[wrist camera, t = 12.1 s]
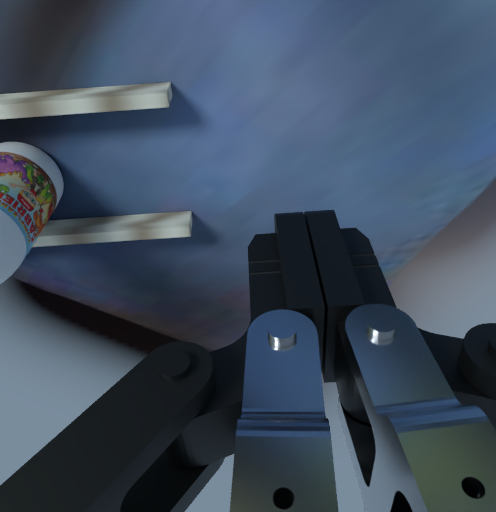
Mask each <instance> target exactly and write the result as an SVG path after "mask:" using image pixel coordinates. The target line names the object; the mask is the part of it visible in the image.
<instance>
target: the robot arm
mask: <svg viewBox="0 0 496 512" xmlns="http://www.w3.org/2000/svg"><path fill="white" fill-rule="evenodd" d="M274 220H275V233H271V234H256V235H255V236H254V238H253V240H252V241H251V243H250V244H249V246H248V261H249V285H250V309H251V321H250V325H249V327H248V329H247V331H246V332H245V334H244V335H243V336H242V337H241V338H240V339H238V340H237V341H236V342H234V343H232V344H231V345H229V346H226V347H224V348H221V349H218V350H215V351H212V352H209V353H208V352H207V351H206V350H205V349H204V348H203V347H201V346H200V345H198V344H195V343H192V342H185V341H179V342H173V343H168V344H165V345H163V346H161V347H158V348H157V349H155V350H154V351H152V352H151V353H150V354H149V355H147V356H146V357H145V358H144V359H143V360H142V361H141V362H140V363H138V364H137V365H136V366H135V367H134V368H133V369H132V370H131V371H129V372H128V373H127V374H126V375H125V376H124V377H123V378H121V379H120V381H118V382H117V383H116V384H115V385H114V386H112V387H111V388H110V389H109V390H108V391H107V392H106V393H105V394H103V395H102V396H101V397H100V398H99V399H98V400H97V401H95V402H94V403H93V404H92V405H91V406H90V407H89V408H88V409H86V410H85V411H84V412H83V413H82V414H81V415H80V416H78V417H77V418H76V419H75V420H74V421H73V422H72V423H71V424H69V425H68V426H67V427H66V428H65V429H64V430H63V431H62V432H60V433H59V434H58V435H57V436H56V437H55V438H54V439H52V440H51V441H50V442H49V443H48V444H47V445H46V446H45V447H43V448H42V449H41V450H40V451H39V452H38V453H37V454H35V455H34V456H33V457H32V458H31V459H30V460H29V461H28V462H26V463H25V464H24V465H23V466H22V467H21V468H20V469H19V470H18V471H16V472H15V473H14V474H13V475H12V476H11V477H10V478H8V479H7V480H6V481H5V482H4V483H3V484H2V485H0V512H184V511H185V510H186V509H187V508H188V507H189V505H190V504H191V503H192V502H193V500H194V499H195V498H196V497H197V495H198V494H199V493H200V492H201V490H202V489H203V488H204V487H205V485H206V484H207V483H208V482H209V480H210V479H211V478H212V476H213V475H214V474H215V473H216V471H217V470H218V469H219V468H220V466H221V465H222V463H223V461H224V459H225V457H227V456H229V455H232V454H234V464H233V478H232V489H231V502H230V512H338V502H337V493H336V483H335V473H334V463H333V453H332V443H331V433H330V426H329V421H328V419H327V418H326V416H325V407H324V397H323V386H322V374H323V379H324V382H325V383H326V382H336V383H337V389H338V393H339V400H338V414H339V418H340V421H341V425H342V428H343V432H344V435H345V438H346V442H347V445H348V449H349V452H350V455H351V459H352V462H353V466H354V469H355V472H356V476H357V479H358V483H359V486H360V489H361V493H362V498H363V503H364V512H496V323H487V324H481V325H477V326H475V327H473V328H471V329H470V330H469V331H468V332H467V333H466V335H465V338H464V339H461V338H456V337H450V336H445V335H439V334H434V333H430V332H427V331H424V330H422V329H420V328H418V327H417V326H416V324H415V322H414V321H413V319H412V318H411V317H410V316H409V315H407V314H406V313H405V312H403V311H402V310H400V309H398V308H397V307H396V305H395V303H394V300H393V298H392V295H391V293H390V290H389V288H388V285H387V283H386V280H385V278H384V275H383V273H382V271H381V268H380V266H379V263H378V261H377V258H376V256H375V255H374V251H373V248H372V246H371V244H370V241H369V239H368V238H367V237H366V236H365V235H363V234H362V233H361V232H360V231H359V230H358V229H356V228H344V229H340V227H339V224H338V220H337V217H336V214H335V212H334V210H323V211H308V212H305V213H304V214H303V212H295V213H280V214H275V216H274Z"/></svg>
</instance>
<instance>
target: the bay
mask: <svg viewBox="0 0 496 512" xmlns="http://www.w3.org/2000/svg"><path fill="white" fill-rule="evenodd" d="M172 96H173V94H172V88H171V82H163V83H149V84H135V85H121V86H108V87H94V88H80V89H66V90H53V91H39V92H25V93H11V94H0V119H12V118H26V117H40V116H54V115H68V114H82V113H96V112H109V111H123V110H137V109H151V108H165V107H169V106H170V102H171V99H172ZM192 222H193V220H192V213H191V211H182V212H167V213H152V214H138V215H123V216H108V217H93V218H78V219H64V220H49V221H47V223H46V225H45V226H44V228H43V230H42V231H41V233H40V235H39V236H38V238H37V240H36V241H35V243H34V244H33V246H32V247H41V246H56V245H71V244H86V243H101V242H116V241H131V240H146V239H161V238H176V237H191V229H192Z"/></svg>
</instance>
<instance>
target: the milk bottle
mask: <svg viewBox="0 0 496 512" xmlns="http://www.w3.org/2000/svg"><path fill="white" fill-rule="evenodd" d="M63 189H64V184H63V178H62V175H61V172H60V170H59V168H58V166H57V165H56V163H55V162H54V161H53V159H51V158H50V157H49V156H48V155H47V154H46V153H45V152H43V151H42V150H40V149H39V148H36V147H34V146H32V145H29V144H26V143H21V142H4V143H0V284H1V283H3V282H4V281H5V280H6V279H8V277H10V276H11V275H12V274H13V273H14V272H15V271H16V269H17V268H18V267H19V266H20V264H21V263H22V261H23V260H24V258H25V257H26V256H27V254H28V253H29V251H30V249H31V248H32V246H33V244H34V243H35V241H36V240H37V238H38V236H39V235H40V233H41V231H42V230H43V228H44V226H45V225H46V223H47V221H48V220H49V218H50V216H51V215H52V213H53V211H54V210H55V208H56V206H57V204H58V203H59V201H60V199H61V197H62V194H63Z"/></svg>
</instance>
